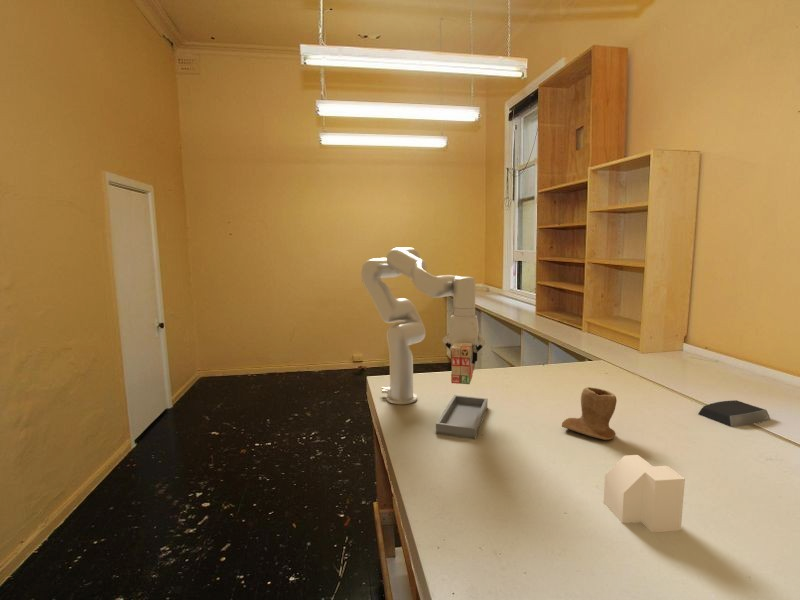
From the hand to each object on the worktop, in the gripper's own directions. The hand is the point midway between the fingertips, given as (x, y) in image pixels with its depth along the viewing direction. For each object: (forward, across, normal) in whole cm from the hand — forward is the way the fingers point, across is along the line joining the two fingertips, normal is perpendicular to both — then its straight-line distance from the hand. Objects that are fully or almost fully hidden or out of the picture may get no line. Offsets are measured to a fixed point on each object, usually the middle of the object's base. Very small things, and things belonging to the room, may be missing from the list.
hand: (463, 361), depth 146 cm
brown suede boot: (+22, +42, +3) cm, 47 cm away
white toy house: (+22, +49, -40) cm, 67 cm away
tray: (+21, 0, 0) cm, 21 cm away
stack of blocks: (+5, 0, 0) cm, 5 cm away
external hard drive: (+22, +91, +32) cm, 99 cm away
